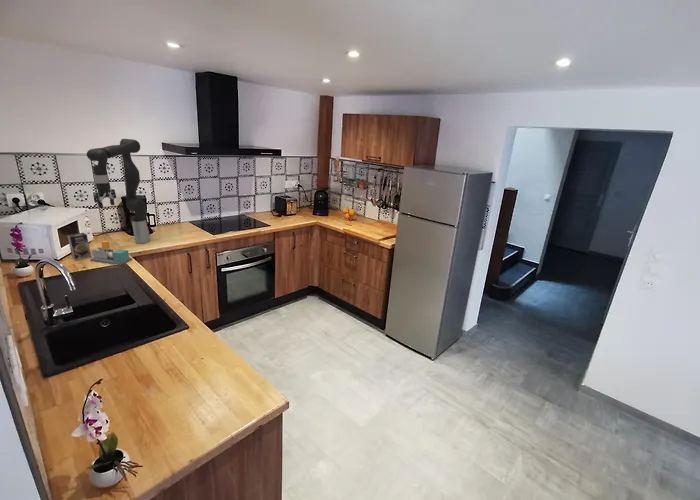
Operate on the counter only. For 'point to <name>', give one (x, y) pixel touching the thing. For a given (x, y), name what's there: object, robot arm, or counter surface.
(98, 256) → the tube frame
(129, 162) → the robot arm
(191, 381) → the counter surface
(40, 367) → the counter surface
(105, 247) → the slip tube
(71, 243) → the coffee box
